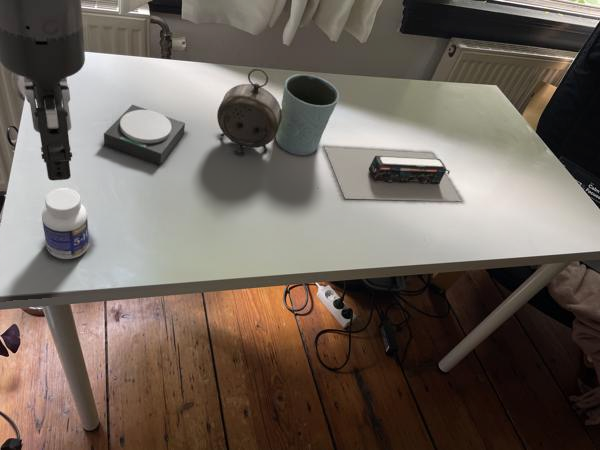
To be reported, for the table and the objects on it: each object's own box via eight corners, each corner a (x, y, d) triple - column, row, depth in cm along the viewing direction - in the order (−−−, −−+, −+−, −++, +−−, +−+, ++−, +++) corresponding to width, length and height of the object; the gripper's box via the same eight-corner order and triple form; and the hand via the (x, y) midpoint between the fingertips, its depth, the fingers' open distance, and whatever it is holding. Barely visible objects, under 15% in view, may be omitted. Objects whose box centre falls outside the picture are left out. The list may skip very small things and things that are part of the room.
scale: (160, 164, 82) (161, 150, 80) (104, 145, 82) (103, 129, 80) (184, 133, 90) (185, 119, 87) (132, 115, 89) (132, 100, 87)
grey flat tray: (461, 201, 97) (471, 185, 94) (345, 198, 88) (352, 181, 85) (431, 153, 106) (440, 138, 103) (324, 147, 97) (330, 130, 94)
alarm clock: (274, 147, 93) (294, 71, 82) (267, 164, 89) (288, 87, 78) (218, 130, 93) (231, 51, 81) (210, 146, 89) (222, 65, 78)
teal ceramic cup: (313, 127, 101) (329, 75, 93) (327, 159, 95) (347, 107, 87) (266, 125, 98) (279, 71, 89) (278, 158, 91) (293, 103, 83)
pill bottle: (82, 263, 66) (77, 217, 59) (40, 256, 65) (31, 209, 59) (94, 234, 69) (91, 188, 63) (55, 227, 68) (48, 180, 62)
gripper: (-13, -25, 47) (14, 116, 58) (-9, 54, 39) (22, 200, 50) (72, -18, 50) (83, 114, 62) (92, 56, 42) (100, 192, 53)
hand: (55, 152), depth 56 cm, fingers open, 8 cm apart
